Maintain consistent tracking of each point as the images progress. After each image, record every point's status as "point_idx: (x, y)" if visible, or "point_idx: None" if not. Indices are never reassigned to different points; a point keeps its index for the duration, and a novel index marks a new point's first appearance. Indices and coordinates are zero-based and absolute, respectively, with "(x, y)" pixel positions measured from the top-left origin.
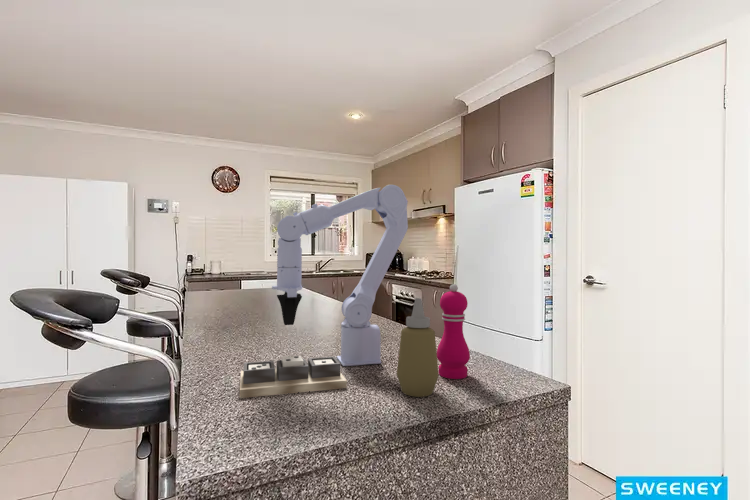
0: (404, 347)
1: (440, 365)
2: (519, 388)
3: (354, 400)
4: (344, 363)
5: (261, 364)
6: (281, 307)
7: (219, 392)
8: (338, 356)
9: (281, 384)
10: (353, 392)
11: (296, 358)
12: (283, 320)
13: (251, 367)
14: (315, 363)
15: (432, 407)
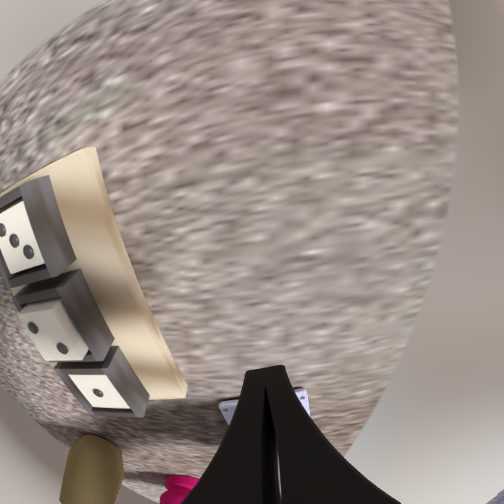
0: (64, 483)
1: (186, 486)
2: (148, 492)
3: (44, 384)
4: (228, 406)
5: (32, 241)
6: (236, 469)
7: (9, 140)
8: (299, 395)
9: (17, 290)
10: (70, 391)
11: (54, 347)
12: (252, 387)
13: (8, 218)
14: (82, 376)
15: (65, 436)
